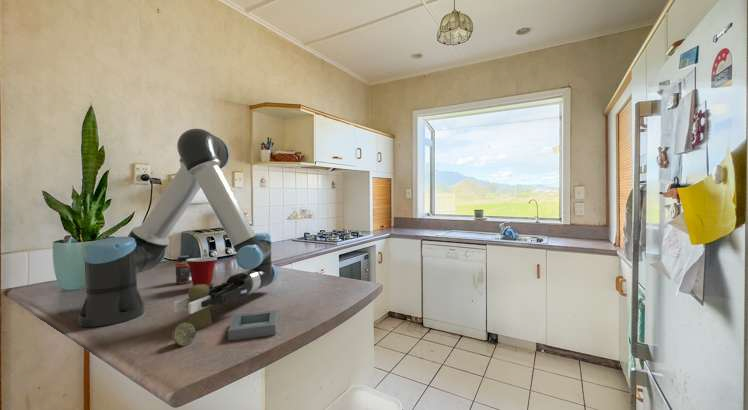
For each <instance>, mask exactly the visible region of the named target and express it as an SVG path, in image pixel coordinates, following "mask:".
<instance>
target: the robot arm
mask: <svg viewBox="0 0 748 410" xmlns="http://www.w3.org/2000/svg"><path fill="white" fill-rule="evenodd" d="M176 146H177V147H176V148H177V152H178V155H179V157H180V158H179V160H178V161H179V165H180V168H179V169H178V170H177V172H176V174H175V175H174V177H173V178H172V179H171V181H170V182H169V184H168V185H167V187H166V188H165V190H164V191H163V193H162V194H161V195H160V196H159V197H160V198H158V200H157V201H156V204H155V205H154V206H153V207H152V209H151V211H150V212H149V214H148V215H147V216H146V218H145V220H144V221H143V223H142V224H141V225H139V226H135V227H133V228H132V229H131V231H130V232H129V234H128V235H127V236H113V237H108V238H102V239H97V240H94V241H91V242H89V243H88V244H86V245H85V248H84V255H83V260H84V275H85V276H84V277H85V298H84V301H83V303H82V306H81V309H80V311H79V314H78V318H77V319H78V325H79V326H80V327H84V328H87V327H88V328H90V327H91V328H93V327H103V326H110V325H115V324H118V323H123V322H126V321H129V320H132V319H135V318H137V317H140V316H141V315H143V314H144V313H145V312H146V309H145V306H146V305H145V302H144V300H143V298H142V296H141V294H140V292H139V290H138V284H137V283H138V282H137V281H138V279H137V274H140V273H143V272H146V271H148V270H151V269H153V268H155V267H157V266H158V265H160V263H161V262H163V260H164V259H165V257H166V254H167V249H166V248H168V245H169V244H170V239H169V235H170V234H171V233H172V231H173V229H174V228H175V226H176V225H177V223H178V222H179V221H180V219H181V217H182V216H183V215H184V213H185V211H186V210H187V209H188V207H189V206H190V204H191V202H192V201H193V200H194V198H195V197H196V195H197V193H198V192H199V190H200V189H201V190H202V192H203V194H204V196H205V198H206V200H207V202H208V203H209V205H210V207H211V209H212V211H213V212H214V215H215V217H216V218H217V220H218V221H219V224H220V225H221V227H222V229H223V230H224V233H225V234H226V237H227V238H228V240H229V242H230V244H231V246H232V247H233V249H234V251H235V253H236V254H235V262H236V264H237V265H238V267H240V268H242V269H244V271H240V272H239V273H236V274H233V275H231V276H229V277H228V278H227V280H226V282H222V283H221V284H217V285H215V284H214V283H211V285H209V289H210V292H209V294H208V296H206V297H204V298H201V299H198V300H196V301H193V302H191V303H190V300H191V298H190V297H189V296H187V297H184V298H182V299H179V300H176V301H173V312H174V313H176V314H177V313H179V312H180V311H181V312H182V311H184V310H186V309H188V315H189V314H192V313H194V312H197V311H199V310H201V309H204V308H206V307H208V306H209V307H210V306H215V305H219V306H220V305H221V306H222V305H224V304H226V303H229V302H231V301H233V300H236V299H239V298H240V299H241V298H243V297H245V296H247V295H251V293H253V292H255V291H257V290H259V289H262V288H264V287H267V286H269V285H271V284H272V283H273V282H275V281H276V280H277V278H278V270H277V267H276V266H275V265H274V264H273V263H272V239H271V237H272V236H271V234H270V233H267V232H262V233H261V232H260V233H258V232H257V233H255V231H254V229H253V227H252V226H251V224H250V221H249V220H248V218H247V216H246V214H245V212H244V210H243V208H242V207H241V205H240V202H239V201H238V198H237V197H236V195H235V194H234V192H233V190H232V188H231V186H230V183H229V182H228V180H227V179H226V177H225V175H224V173H223V171H222V169H223V168H224V167H225V166H227V164H228V163H229V160H230V158H231V157H230V156H231V154H230V148H229V147H228V145H227V144H226V142H225V141H223V140H222V139H221V138H220V137H219V136H216V135H214V134H213V133H210V131H208V130H206V129H201V128H190V129H188V130H186V131H184V132H183V133H181V135H180V136H179V138H178V140H177V143H176Z"/></svg>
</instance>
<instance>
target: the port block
mask: <svg viewBox="0 0 748 410" xmlns="http://www.w3.org/2000/svg"><path fill="white" fill-rule="evenodd" d="M277 325H278V310H277V309H273V310H265V311H256V312H247V313H237V314H234V317H233V320H232V321H231V323H230V325H229V328H228V330H227V336H228V337H227V339H228V340H227V341H228V342H229V341H236V340H237V341H239V340H244V339H245V340H246V339H252V338H253V339H254V338H260V337H267V336H273V335H274V336H276V335H277Z"/></svg>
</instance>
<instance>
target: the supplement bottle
mask: <svg viewBox="0 0 748 410" xmlns="http://www.w3.org/2000/svg"><path fill="white" fill-rule="evenodd" d="M187 259H190V256H189V255H180V256H178V257H177V261H176V262H175V283H176V284H177V285H185V284H189V283H193V282H192V278H191V274H190V269H189V265H188V262H187V261H186V260H187Z"/></svg>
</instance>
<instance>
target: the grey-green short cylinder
mask: <svg viewBox="0 0 748 410" xmlns="http://www.w3.org/2000/svg"><path fill="white" fill-rule="evenodd" d="M196 330H197V329H195V327H194V326H193V325H192V324H190V323H188V321H187V322H186V321H185V322H180V323H179V324H178V325H176V326H175V327H174V328H173V330H172V333H171V338H172V340H173V342H174V344H177V345H178V346H182V347H183V346H187V345H189V344H190V343H191V342H193V340H194V338H196V334H197V331H196Z"/></svg>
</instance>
